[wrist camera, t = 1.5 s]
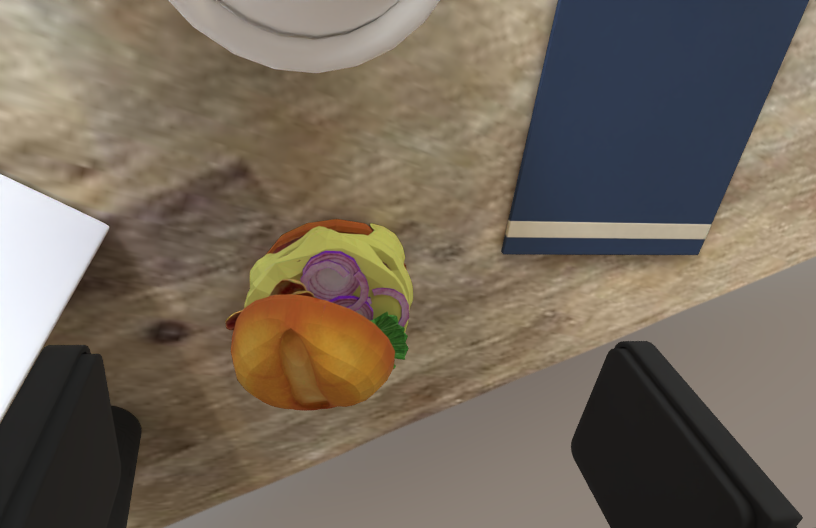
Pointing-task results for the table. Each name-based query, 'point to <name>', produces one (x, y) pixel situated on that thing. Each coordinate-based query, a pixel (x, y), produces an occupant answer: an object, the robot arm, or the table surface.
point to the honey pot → (306, 29)
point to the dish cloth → (643, 122)
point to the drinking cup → (125, 464)
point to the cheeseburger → (323, 316)
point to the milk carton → (37, 274)
